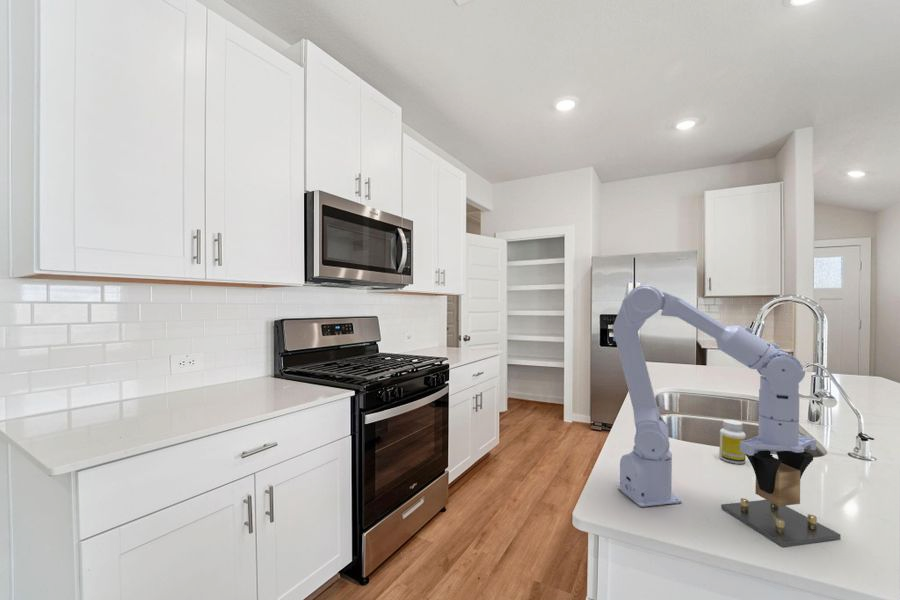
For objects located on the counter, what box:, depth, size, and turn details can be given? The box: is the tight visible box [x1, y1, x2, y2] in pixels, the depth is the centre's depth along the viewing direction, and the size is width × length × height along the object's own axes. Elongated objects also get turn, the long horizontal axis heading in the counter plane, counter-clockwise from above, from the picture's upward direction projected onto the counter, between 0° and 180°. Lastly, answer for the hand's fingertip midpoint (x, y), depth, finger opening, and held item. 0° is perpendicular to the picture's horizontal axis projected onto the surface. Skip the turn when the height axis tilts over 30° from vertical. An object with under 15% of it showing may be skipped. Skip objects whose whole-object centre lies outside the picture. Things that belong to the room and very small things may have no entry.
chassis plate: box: [720, 498, 842, 548], centre depth 73 cm, size 12×12×3 cm
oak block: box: [755, 463, 801, 506], centre depth 73 cm, size 4×4×6 cm
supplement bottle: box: [718, 419, 747, 465], centre depth 100 cm, size 5×5×10 cm
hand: (777, 489), depth 73 cm, fingers closed on oak block, 4 cm apart
